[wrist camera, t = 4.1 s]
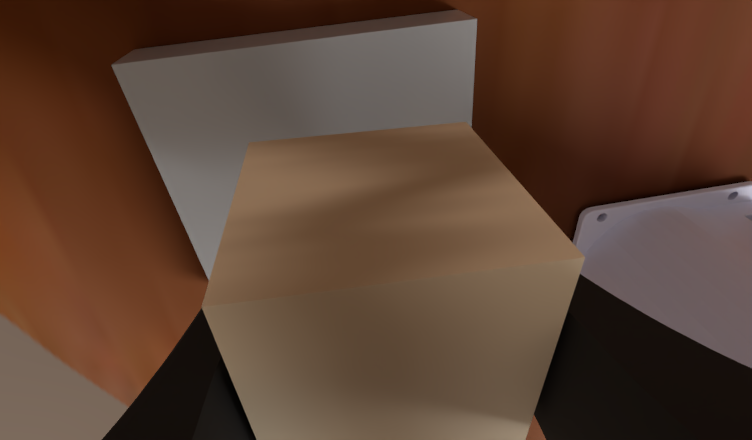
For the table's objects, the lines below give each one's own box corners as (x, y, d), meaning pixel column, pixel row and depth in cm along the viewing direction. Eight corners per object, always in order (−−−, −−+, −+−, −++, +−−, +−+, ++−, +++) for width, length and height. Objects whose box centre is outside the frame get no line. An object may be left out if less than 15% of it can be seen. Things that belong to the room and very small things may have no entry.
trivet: (457, 9, 14) (477, 18, 13) (450, 250, 21) (463, 276, 19) (133, 49, 13) (110, 64, 12) (231, 286, 20) (225, 317, 18)
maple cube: (465, 121, 10) (585, 257, 5) (452, 278, 12) (523, 445, 8) (249, 142, 9) (200, 307, 5) (286, 300, 12) (276, 487, 8)
